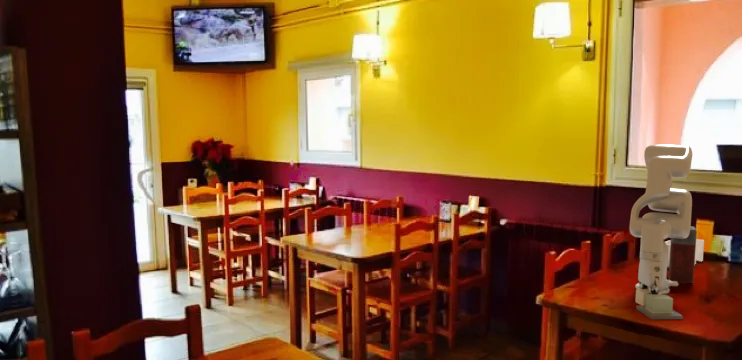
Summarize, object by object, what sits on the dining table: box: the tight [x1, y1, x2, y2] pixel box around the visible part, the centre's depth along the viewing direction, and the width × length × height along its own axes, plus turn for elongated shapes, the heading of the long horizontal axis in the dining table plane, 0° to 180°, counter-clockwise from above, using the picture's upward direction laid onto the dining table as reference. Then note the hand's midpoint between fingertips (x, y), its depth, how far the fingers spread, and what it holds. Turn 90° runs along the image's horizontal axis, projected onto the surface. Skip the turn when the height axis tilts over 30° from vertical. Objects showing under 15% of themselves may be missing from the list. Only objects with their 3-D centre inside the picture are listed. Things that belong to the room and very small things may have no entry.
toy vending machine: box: [667, 226, 698, 284], centre depth 251 cm, size 9×11×28 cm
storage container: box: [664, 238, 705, 268], centre depth 281 cm, size 25×11×11 cm, turn 133°
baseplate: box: [635, 305, 684, 320], centre depth 207 cm, size 11×11×1 cm
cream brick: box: [635, 288, 662, 306], centre depth 218 cm, size 7×5×5 cm
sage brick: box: [646, 294, 674, 313], centre depth 207 cm, size 7×5×5 cm
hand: (648, 302), depth 218 cm, fingers closed on cream brick, 5 cm apart
